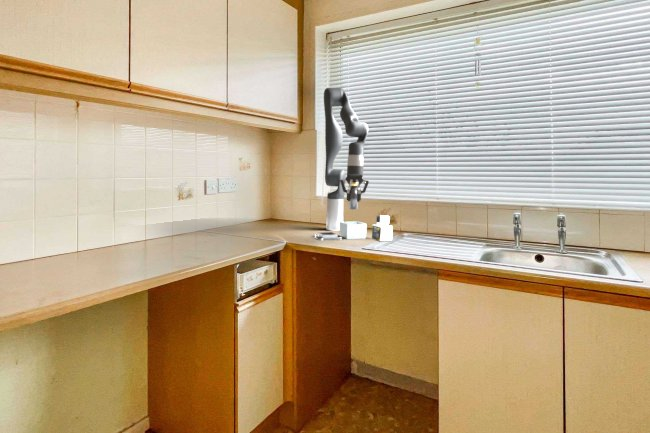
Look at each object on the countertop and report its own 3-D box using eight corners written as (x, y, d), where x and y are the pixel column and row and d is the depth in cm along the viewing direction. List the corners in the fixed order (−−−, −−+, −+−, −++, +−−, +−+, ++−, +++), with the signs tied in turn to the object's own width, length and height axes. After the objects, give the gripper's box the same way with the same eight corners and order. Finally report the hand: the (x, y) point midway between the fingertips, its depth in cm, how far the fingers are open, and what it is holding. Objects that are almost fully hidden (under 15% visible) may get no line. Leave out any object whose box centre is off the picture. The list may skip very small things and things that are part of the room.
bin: (339, 238, 185) (339, 221, 184) (357, 237, 189) (358, 221, 188) (346, 241, 177) (347, 224, 176) (366, 240, 181) (366, 224, 180)
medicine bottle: (371, 239, 186) (372, 214, 185) (383, 238, 189) (384, 214, 188) (380, 241, 180) (381, 216, 179) (392, 240, 183) (393, 216, 182)
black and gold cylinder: (347, 209, 179) (348, 182, 178) (349, 208, 184) (350, 182, 183) (357, 209, 178) (358, 182, 177) (358, 209, 183) (360, 182, 182)
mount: (310, 238, 182) (311, 231, 181) (334, 237, 186) (334, 231, 186) (319, 243, 171) (319, 236, 170) (344, 242, 175) (344, 235, 174)
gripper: (339, 164, 176) (337, 201, 178) (370, 165, 174) (368, 203, 176) (341, 164, 184) (339, 200, 186) (370, 165, 181) (369, 201, 183)
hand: (353, 201), depth 181 cm, fingers closed on black and gold cylinder, 4 cm apart
